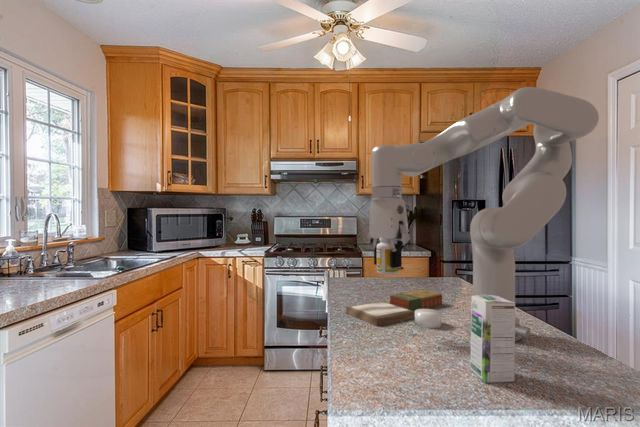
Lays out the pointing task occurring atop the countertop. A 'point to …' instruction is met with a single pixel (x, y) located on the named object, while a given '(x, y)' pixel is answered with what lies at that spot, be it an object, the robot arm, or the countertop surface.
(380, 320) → the tray
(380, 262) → the supplement bottle
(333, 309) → the countertop surface
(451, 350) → the countertop surface
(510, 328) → the syrup box
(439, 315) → the white glossy dome
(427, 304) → the carton
